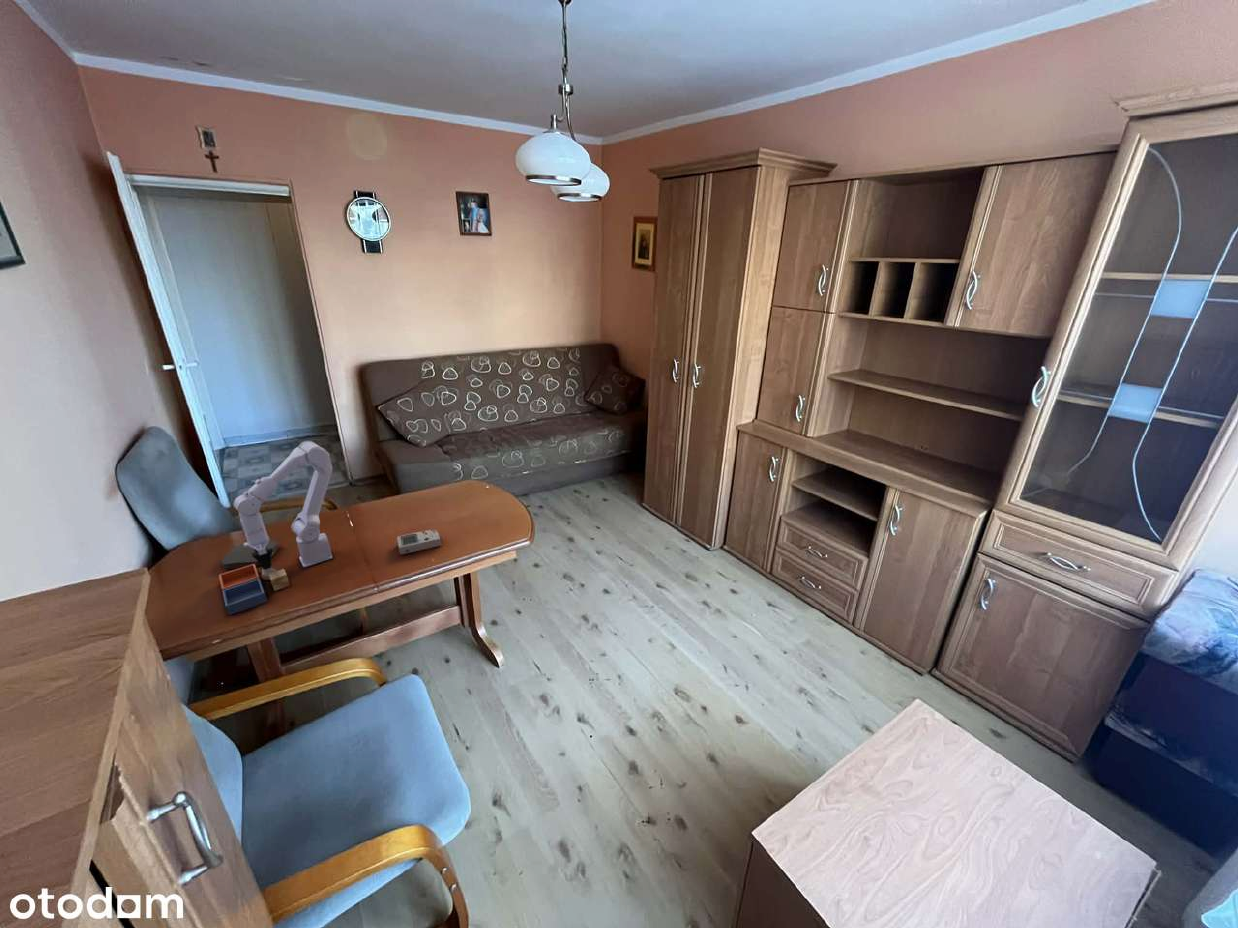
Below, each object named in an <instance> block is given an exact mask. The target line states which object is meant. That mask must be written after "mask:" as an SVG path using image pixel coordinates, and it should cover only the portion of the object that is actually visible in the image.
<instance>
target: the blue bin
mask: <svg viewBox="0 0 1238 928" xmlns="http://www.w3.org/2000/svg"><path fill="white" fill-rule="evenodd" d="M221 592H222V598H223V600H224V605H225V609H226V611H227V613H228V616H231V615H234V614H237V613H239V612H242V611H245V610H248V609H250V608H251V609H252V608H254V607H256V606H259V605H262V604H264V603H268V601H269V600H268V599H267V595H266V593H265V589H264V586H263V584H262V581H261V578H260V577H259V579H256V580H253V581H250V582H247V583H244V584H241V585H237V586H234V587H231V588H228V589H225V590H222V589H221Z"/></svg>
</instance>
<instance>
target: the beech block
mask: <svg viewBox="0 0 1238 928" xmlns="http://www.w3.org/2000/svg"><path fill="white" fill-rule="evenodd" d="M269 577H270V584H271V586H272V588H273V591H274V592H276V591H279V590H282V589H284V588H287V587H290V586H291V585H290V582H289V578H288V574H287V573H286V570H285V568H282V569H278V570H276V572H273V573H269Z"/></svg>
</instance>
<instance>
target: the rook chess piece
mask: <svg viewBox="0 0 1238 928" xmlns="http://www.w3.org/2000/svg"><path fill="white" fill-rule="evenodd" d="M276 571H277V570H276V569H275V568H274V567H273V566H272V565H271V568H268V569H265V570H264V569H263V568H262V571H261V578H262V579H263V580H264V581H269V580H270V577H269V573H273V572H276ZM270 581H271V580H270Z"/></svg>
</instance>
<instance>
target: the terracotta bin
mask: <svg viewBox="0 0 1238 928" xmlns="http://www.w3.org/2000/svg"><path fill="white" fill-rule="evenodd" d="M259 578H260V575H259V572H258V569H257V566H255V564H252V565H249V566H245V567H242V568H235V569H233V570H229V571H227V572H224V573H221V574H220V573H219V574H218V580H219V582H220V587H221V588H220V589H221V591H222V590H225V589H228V588H231V587H234V586H237V585H241V584H244V583H247V582H250V581H253V580H256V579H259Z"/></svg>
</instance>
